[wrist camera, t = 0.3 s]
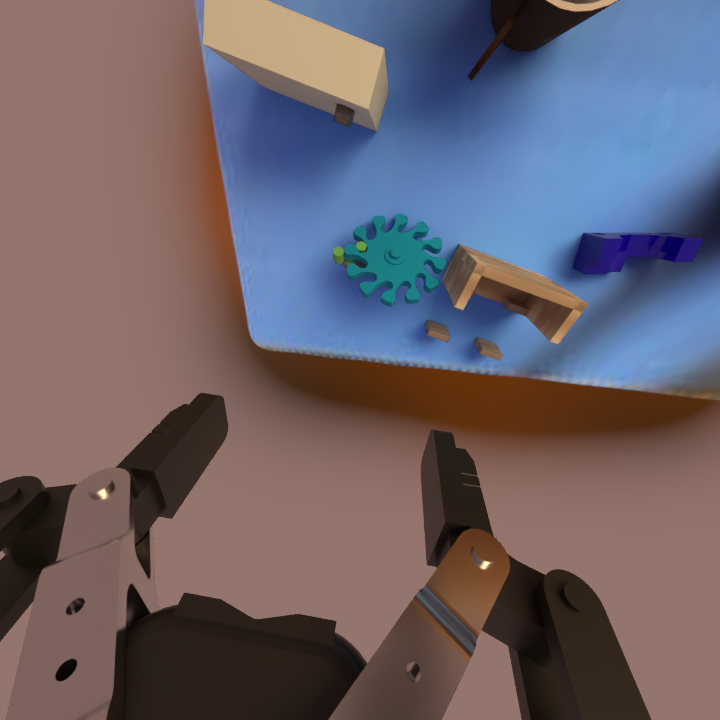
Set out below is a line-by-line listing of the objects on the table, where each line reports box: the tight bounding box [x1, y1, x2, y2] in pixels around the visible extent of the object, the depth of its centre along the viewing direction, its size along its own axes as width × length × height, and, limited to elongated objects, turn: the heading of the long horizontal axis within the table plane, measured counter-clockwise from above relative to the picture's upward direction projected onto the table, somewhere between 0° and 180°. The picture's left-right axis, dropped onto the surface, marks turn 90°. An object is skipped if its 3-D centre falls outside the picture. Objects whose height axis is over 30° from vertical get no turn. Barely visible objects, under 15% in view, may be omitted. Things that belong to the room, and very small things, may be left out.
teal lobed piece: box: [333, 214, 447, 307], centre depth 32 cm, size 11×6×10 cm
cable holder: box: [573, 233, 704, 274], centre depth 30 cm, size 8×4×4 cm, turn 91°
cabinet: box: [425, 244, 588, 360], centre depth 31 cm, size 10×10×9 cm
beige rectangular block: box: [203, 0, 389, 131], centre depth 23 cm, size 4×11×10 cm, turn 72°
